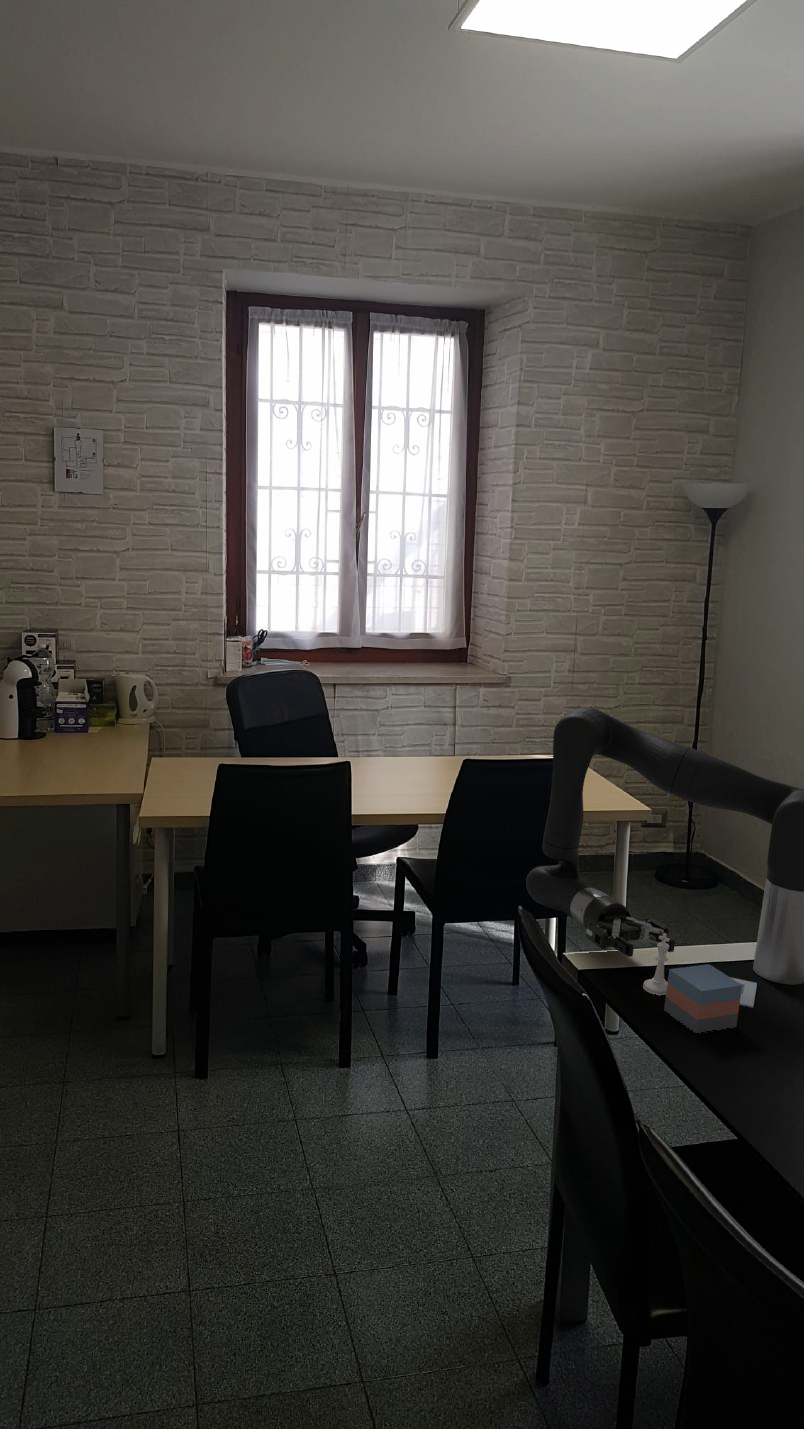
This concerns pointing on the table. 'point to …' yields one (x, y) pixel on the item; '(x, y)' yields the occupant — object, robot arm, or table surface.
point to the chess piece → (659, 970)
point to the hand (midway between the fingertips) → (652, 949)
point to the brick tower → (702, 998)
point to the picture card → (747, 992)
